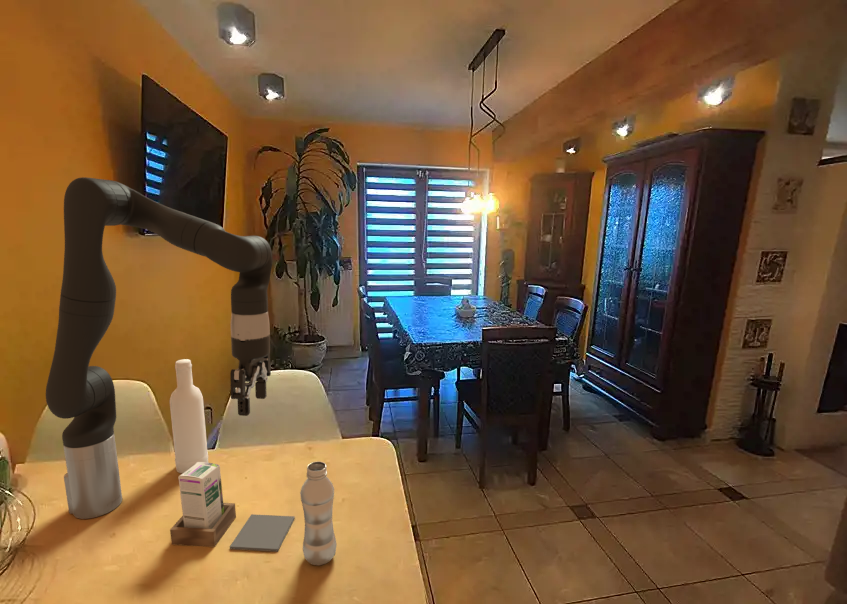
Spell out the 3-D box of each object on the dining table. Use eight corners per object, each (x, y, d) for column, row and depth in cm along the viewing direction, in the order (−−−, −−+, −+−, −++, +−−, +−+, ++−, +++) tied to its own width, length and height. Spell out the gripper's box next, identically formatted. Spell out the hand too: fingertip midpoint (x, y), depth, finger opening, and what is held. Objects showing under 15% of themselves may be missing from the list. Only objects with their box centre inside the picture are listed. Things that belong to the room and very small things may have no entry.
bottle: (196, 455, 124) (187, 354, 119) (215, 462, 121) (206, 359, 115) (169, 469, 117) (158, 362, 112) (188, 477, 114) (178, 367, 108)
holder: (171, 544, 90) (170, 529, 90) (196, 515, 99) (195, 501, 99) (214, 546, 90) (213, 531, 89) (236, 517, 99) (235, 503, 98)
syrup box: (208, 541, 91) (202, 478, 89) (183, 537, 93) (177, 475, 90) (225, 523, 97) (221, 463, 94) (202, 519, 98) (197, 460, 95)
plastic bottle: (320, 575, 83) (317, 480, 79) (295, 560, 87) (291, 468, 83) (343, 554, 88) (341, 464, 85) (319, 541, 92) (316, 453, 88)
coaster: (229, 549, 89) (229, 546, 89) (251, 516, 99) (251, 514, 99) (277, 551, 89) (277, 549, 89) (294, 518, 99) (294, 516, 99)
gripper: (247, 324, 98) (250, 392, 101) (215, 341, 84) (219, 420, 87) (280, 325, 97) (282, 394, 100) (253, 343, 83) (256, 422, 86)
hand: (252, 406), depth 94 cm, fingers open, 8 cm apart
